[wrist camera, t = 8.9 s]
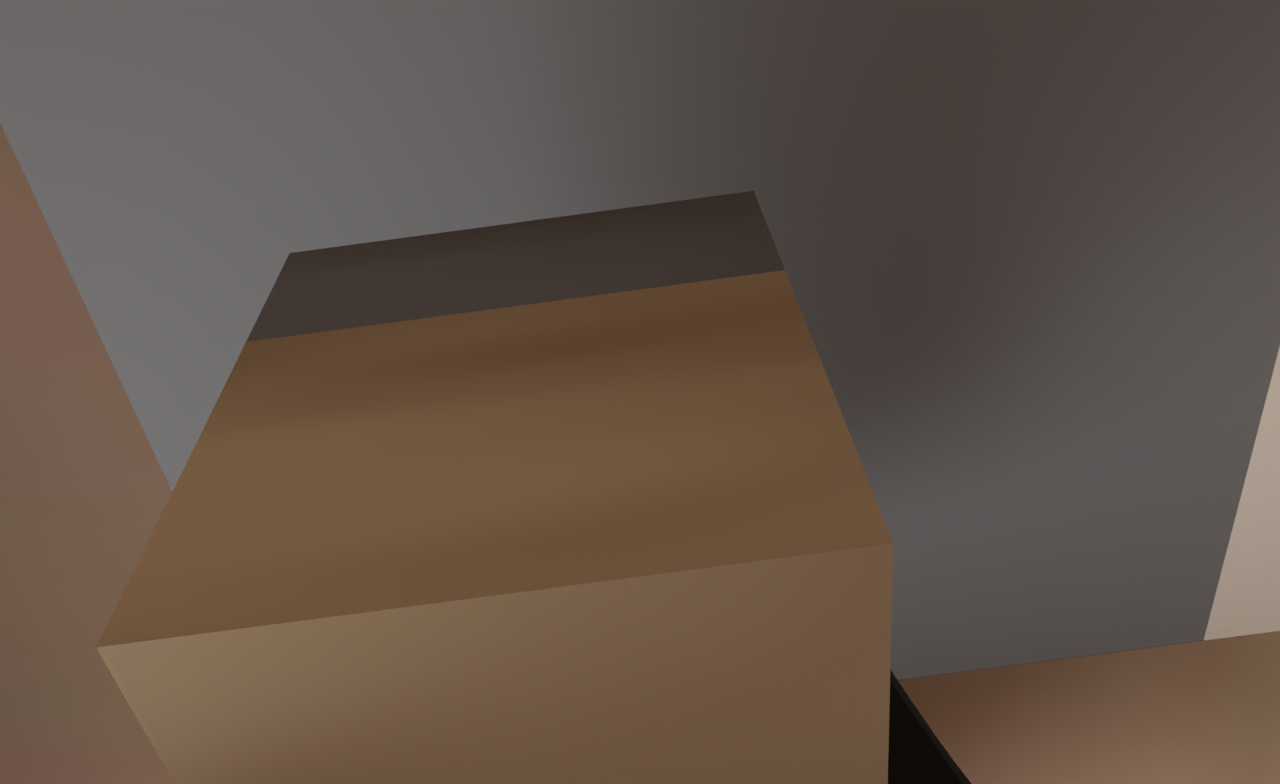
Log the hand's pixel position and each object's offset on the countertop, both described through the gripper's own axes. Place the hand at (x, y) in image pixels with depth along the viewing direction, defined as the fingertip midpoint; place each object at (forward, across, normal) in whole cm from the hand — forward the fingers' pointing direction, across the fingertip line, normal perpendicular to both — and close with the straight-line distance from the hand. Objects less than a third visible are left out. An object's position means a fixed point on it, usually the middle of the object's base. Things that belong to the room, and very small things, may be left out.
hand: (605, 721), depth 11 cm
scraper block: (+1, 0, 0) cm, 1 cm away
